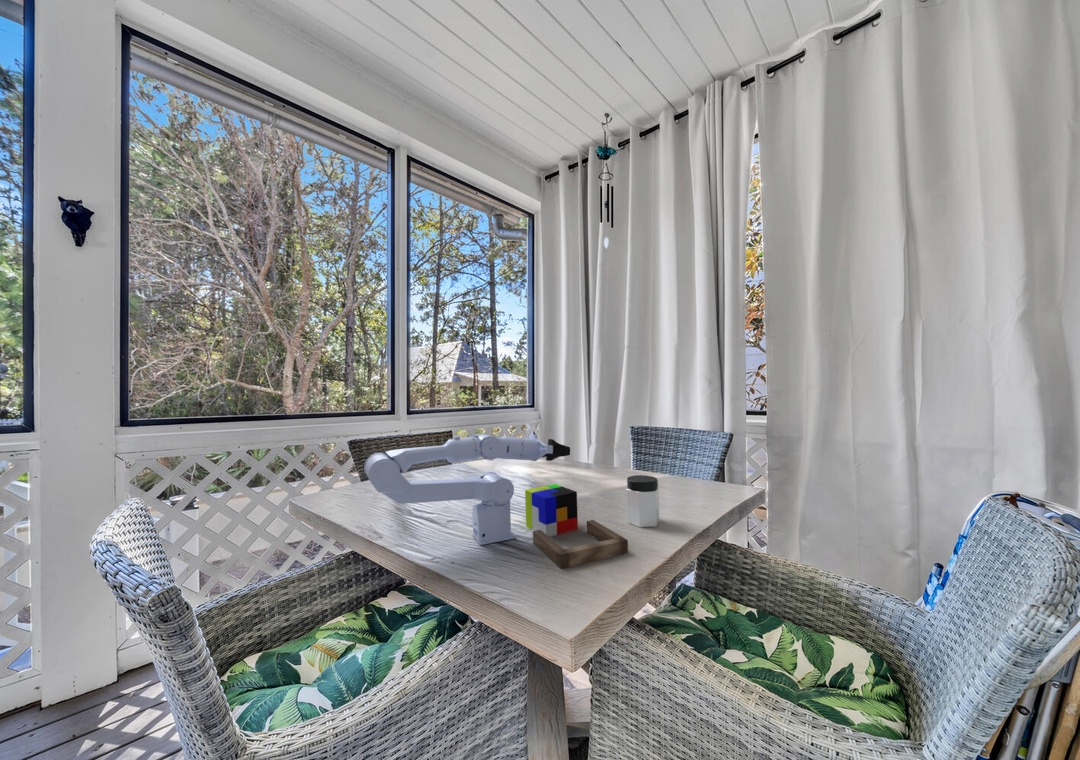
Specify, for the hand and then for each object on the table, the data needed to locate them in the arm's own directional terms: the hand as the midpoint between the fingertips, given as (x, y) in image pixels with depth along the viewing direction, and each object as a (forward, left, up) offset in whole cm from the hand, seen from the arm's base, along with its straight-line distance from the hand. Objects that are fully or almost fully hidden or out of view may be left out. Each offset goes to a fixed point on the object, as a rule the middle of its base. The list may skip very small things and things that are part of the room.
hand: (561, 451), depth 115 cm
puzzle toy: (-5, -3, -20) cm, 21 cm away
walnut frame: (-5, -17, -20) cm, 26 cm away
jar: (+19, -11, -20) cm, 30 cm away
